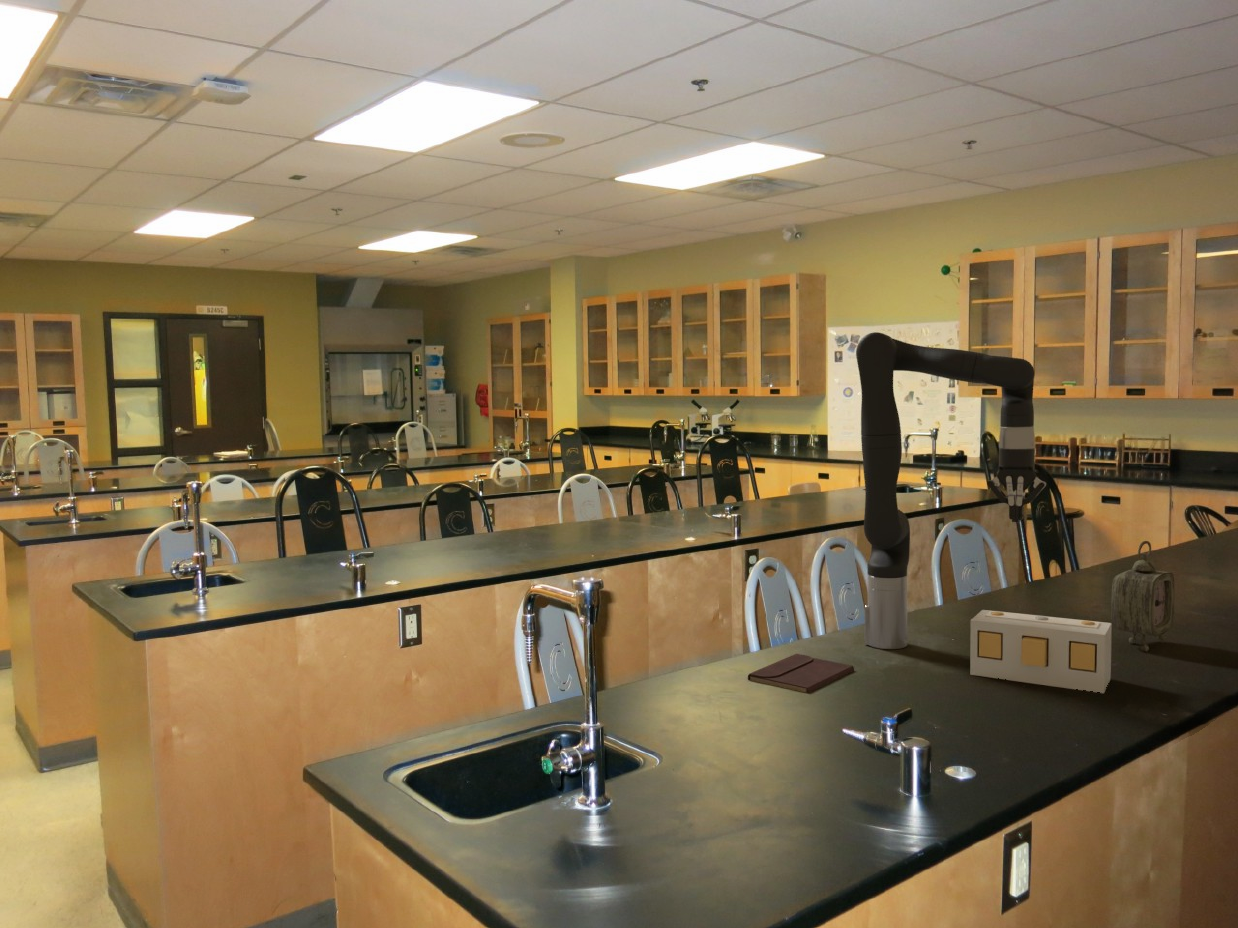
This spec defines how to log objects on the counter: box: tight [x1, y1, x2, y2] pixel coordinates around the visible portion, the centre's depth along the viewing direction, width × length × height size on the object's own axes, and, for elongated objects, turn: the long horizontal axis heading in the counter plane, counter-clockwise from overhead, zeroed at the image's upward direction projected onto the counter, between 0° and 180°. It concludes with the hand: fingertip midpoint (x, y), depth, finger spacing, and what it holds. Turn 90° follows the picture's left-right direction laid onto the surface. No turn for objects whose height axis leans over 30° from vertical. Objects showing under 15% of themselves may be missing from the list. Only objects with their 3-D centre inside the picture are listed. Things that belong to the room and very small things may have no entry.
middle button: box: [1022, 636, 1047, 667], centre depth 199 cm, size 4×3×5 cm
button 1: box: [979, 631, 1003, 659], centre depth 206 cm, size 4×3×5 cm
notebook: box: [747, 653, 855, 694], centre depth 209 cm, size 15×20×2 cm
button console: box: [969, 609, 1113, 694], centre depth 204 cm, size 26×11×12 cm, turn 57°
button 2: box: [1071, 641, 1097, 671], centre depth 196 cm, size 4×3×5 cm
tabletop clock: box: [1110, 540, 1175, 653], centre depth 226 cm, size 14×9×25 cm, turn 131°
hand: (1016, 521), depth 219 cm, fingers closed
